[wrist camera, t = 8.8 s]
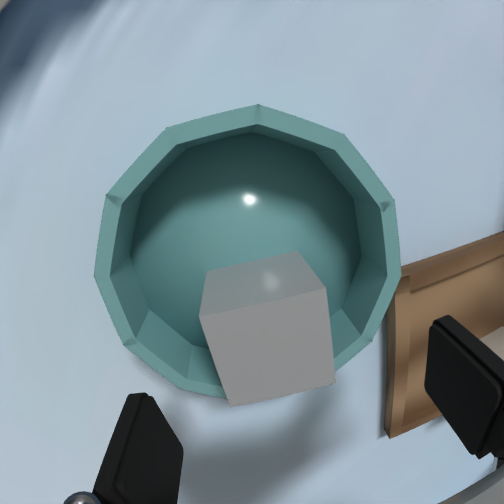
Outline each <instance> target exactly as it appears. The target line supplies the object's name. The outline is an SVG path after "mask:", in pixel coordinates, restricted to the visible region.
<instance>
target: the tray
mask: <svg viewBox="0 0 504 504" xmlns="http://www.w3.org/2000/svg"><path fill="white" fill-rule="evenodd" d="M386 311H387V392H386V411H385V425H384V430H385V432H386V433H387V435H388V437H389V439H391V438H393V437H396V436H398V435H400V434H403V433H405V432H407V431H409V430H412V429H414V428H416V427H418V426H420V425H423V424H425V423H427V422H429V421H431V420H433V419H435V418H437V417H439V416H441V415H442V413H441V412H440V410H439V409H438V408H437V406H436V405H435V404H434V402H433V401H432V400H431V398H430V397H429V395H428V394H427V393H426V391H425V387H424V381H425V372H426V362H427V351H428V337H429V328H430V326H432V323H433V321H434V320H436V319H438V318H441V317H443V316H445V315H450V316H452V317H453V318H454V319H455V320H457V321H458V322H459V323H460V324H461V325H463V326H464V327H465V328H466V329H468V330H469V331H470V332H471V333H472V334H473V335H475V336H476V337H477V338H478V339H481V338H483V337H485V336H486V335H488V334H490V333H492V332H493V331H495V330H497V329H498V328H500V327H502V326H503V327H504V231H502V232H499V233H497V234H494V235H491V236H489V237H486V238H483V239H480V240H478V241H475V242H472V243H469V244H467V245H464V246H461V247H458V248H455V249H452V250H450V251H447V252H444V253H441V254H438V255H435V256H432V257H429V258H426V259H423V260H420V261H417V262H414V263H411V264H408V265H405V266H401V278H400V280H399V283H398V285H397V287H396V290H395V292H394V294H393V297H392V299H391V301H390V304H389V306H388V308H387V310H386Z"/></svg>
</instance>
